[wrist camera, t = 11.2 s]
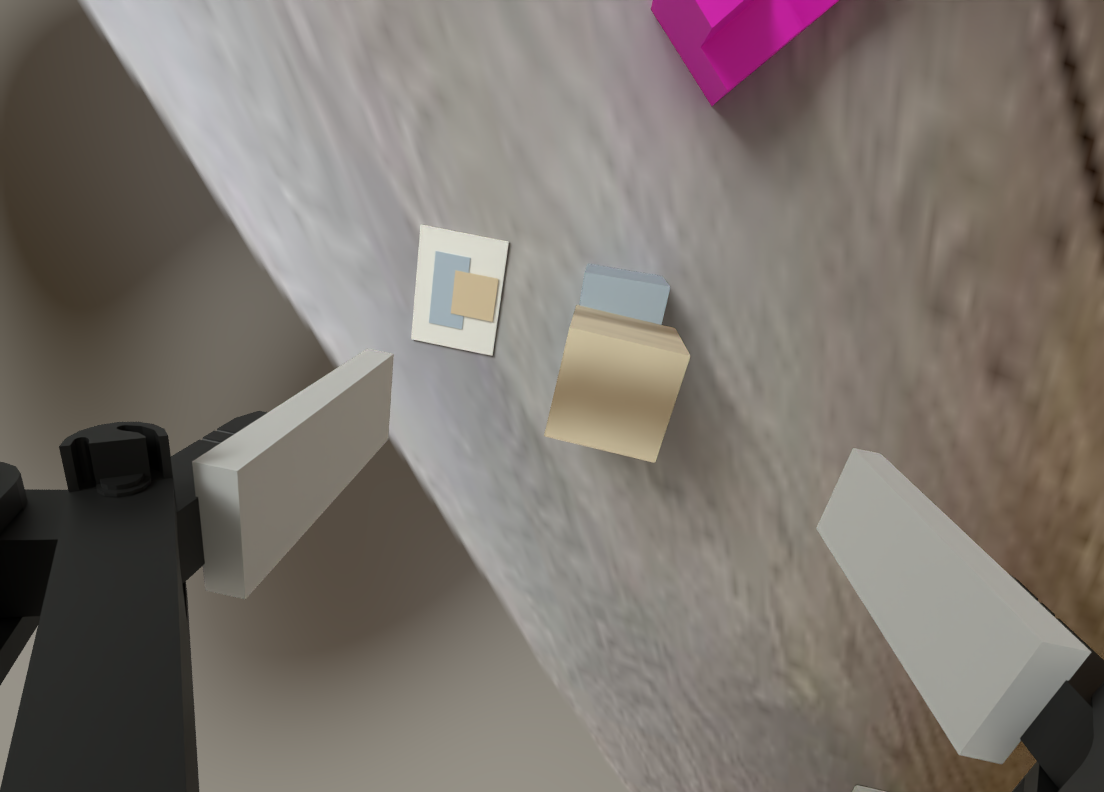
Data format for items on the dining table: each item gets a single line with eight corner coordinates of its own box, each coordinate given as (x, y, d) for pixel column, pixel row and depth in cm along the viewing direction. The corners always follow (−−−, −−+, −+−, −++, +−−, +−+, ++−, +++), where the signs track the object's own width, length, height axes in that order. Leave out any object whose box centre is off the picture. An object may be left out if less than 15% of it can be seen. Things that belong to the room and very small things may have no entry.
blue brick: (587, 263, 34) (584, 272, 30) (661, 275, 34) (670, 286, 29) (564, 399, 38) (558, 427, 33) (630, 411, 38) (634, 440, 33)
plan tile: (421, 224, 34) (419, 224, 34) (509, 241, 34) (508, 242, 34) (412, 338, 37) (410, 339, 37) (492, 354, 37) (491, 356, 37)
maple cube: (576, 304, 30) (569, 327, 25) (675, 328, 30) (690, 355, 25) (554, 396, 32) (544, 436, 27) (646, 418, 32) (655, 463, 27)
